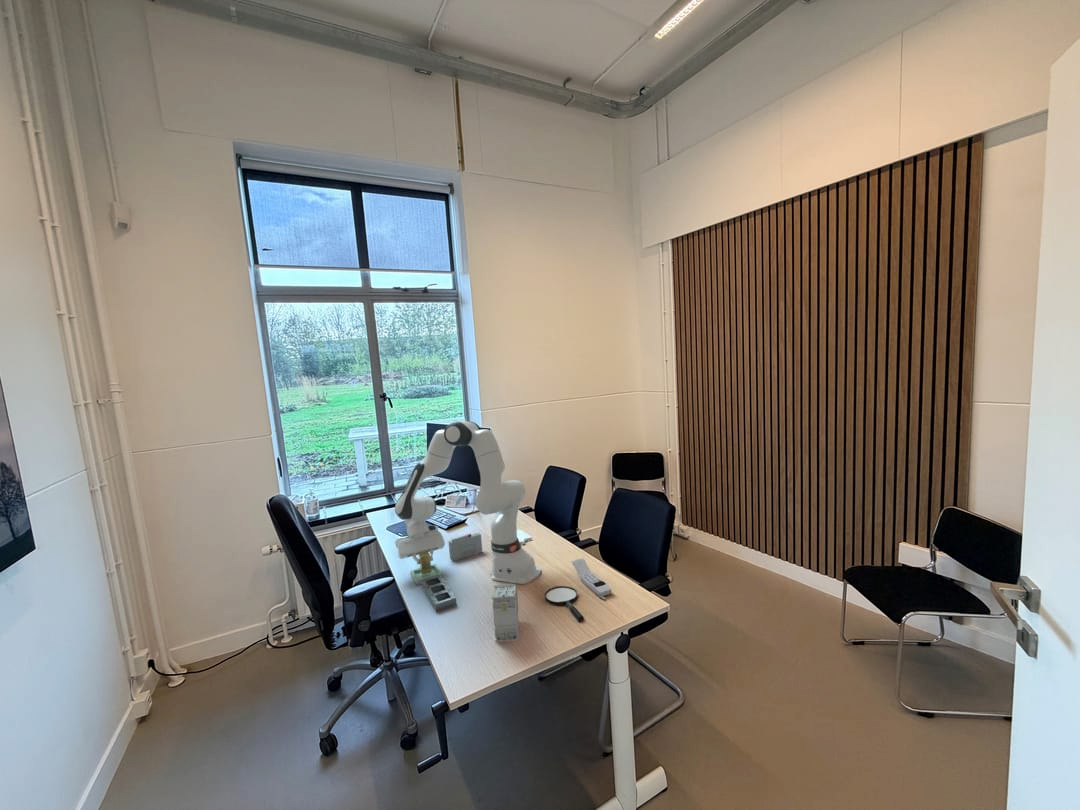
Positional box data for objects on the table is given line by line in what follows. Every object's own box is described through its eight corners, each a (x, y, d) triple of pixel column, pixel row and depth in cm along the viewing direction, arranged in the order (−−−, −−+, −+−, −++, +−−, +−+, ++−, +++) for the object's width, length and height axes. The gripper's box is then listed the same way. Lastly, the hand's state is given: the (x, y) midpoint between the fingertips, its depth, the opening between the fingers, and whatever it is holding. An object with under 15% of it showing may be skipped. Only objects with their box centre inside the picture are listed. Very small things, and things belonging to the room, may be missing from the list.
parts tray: (442, 577, 187) (441, 573, 187) (416, 585, 182) (416, 580, 182) (435, 568, 197) (435, 563, 197) (411, 574, 192) (410, 570, 192)
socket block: (456, 605, 164) (456, 597, 164) (435, 612, 160) (435, 604, 160) (440, 581, 183) (440, 575, 183) (422, 587, 180) (421, 580, 179)
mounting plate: (496, 537, 229) (496, 534, 229) (518, 531, 235) (518, 528, 235) (511, 548, 213) (510, 545, 213) (534, 542, 220) (533, 538, 219)
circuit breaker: (518, 615, 155) (516, 575, 154) (518, 639, 141) (514, 596, 140) (498, 616, 155) (495, 576, 154) (495, 641, 141) (491, 597, 139)
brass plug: (431, 572, 188) (429, 554, 188) (422, 574, 187) (420, 556, 186) (429, 568, 192) (427, 551, 191) (420, 571, 190) (418, 553, 189)
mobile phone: (582, 557, 185) (614, 582, 162) (583, 570, 186) (615, 597, 163) (570, 561, 183) (601, 586, 160) (571, 574, 183) (602, 602, 160)
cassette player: (480, 550, 214) (478, 530, 213) (482, 551, 211) (480, 532, 210) (450, 559, 205) (448, 539, 205) (452, 561, 203) (450, 540, 202)
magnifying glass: (565, 627, 147) (564, 621, 146) (540, 595, 169) (540, 589, 169) (597, 617, 151) (597, 611, 151) (569, 587, 173) (569, 582, 173)
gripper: (394, 535, 189) (401, 565, 181) (440, 525, 199) (448, 552, 191) (394, 542, 193) (400, 571, 186) (439, 531, 203) (446, 558, 195)
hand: (425, 562), depth 188 cm, fingers closed on brass plug, 4 cm apart
